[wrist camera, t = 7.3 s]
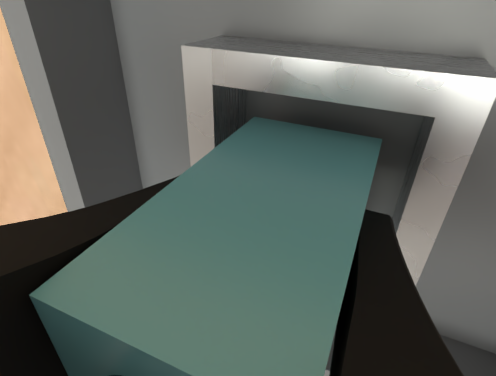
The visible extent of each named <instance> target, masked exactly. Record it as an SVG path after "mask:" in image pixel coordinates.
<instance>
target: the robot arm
mask: <svg viewBox="0 0 496 376" xmlns="http://www.w3.org/2000/svg"><path fill="white" fill-rule="evenodd" d="M177 177H179V176H177ZM177 177H175V178H172V179H169V180H166V181H164V182H161V183H158V184H155V185H152V186H150V187H147V188H144V189H141V190H139V191H136V192H133V193H130V194H127V195H124V196H120V197H117V198H114V199H111V200H108V201H105V202H102V203H99V204H95V205H92V206H89V207H85V208H81V209H78V210H74V211H70V212H65V213H61V214H57V215H53V216H49V217H44V218H39V219H34V220H28V221H23V222H17V223H12V224H7V225H1V226H0V376H68V374H67V372H66V370H65V368H64V366H63V364H62V362H61V360H60V358H59V356H58V354H57V351H56V349H55V347H54V345H53V343H52V341H51V339H50V337H49V335H48V333H47V331H46V329H45V327H44V325H43V323H42V321H41V319H40V317H39V315H38V313H37V311H36V309H35V307H34V304H33V302H32V300H31V298H30V296H29V295H30V294H31V293H32V292H33V291H35V290H36V289H37V288H38V287H40V286H41V285H42V284H44V283H45V282H46V281H47V280H49V279H50V278H51V277H52V276H54V275H55V274H56V273H57V272H59V271H60V270H61V269H62V268H64V267H65V266H66V265H68V264H69V263H70V262H71V261H73V260H74V259H75V258H76V257H78V256H79V255H80V254H81V253H83V252H84V251H85V250H86V249H88V248H89V247H90V246H92V245H93V244H94V243H95V242H97V241H98V240H99V239H100V238H102V237H103V236H104V235H105V234H107V233H108V232H109V231H110V230H112V229H113V228H114V227H116V226H117V225H118V224H119V223H121V222H122V221H123V220H124V219H126V218H127V217H128V216H129V215H131V214H132V213H133V212H134V211H136V210H137V209H138V208H140V207H141V206H142V205H143V204H145V203H146V202H147V201H148V200H150V199H151V198H152V197H153V196H155V195H156V194H157V193H158V192H160V191H161V190H162V189H164V188H165V187H166V186H167V185H169V184H170V183H171V182H172V181H174V180H175V179H176V178H177ZM329 376H464V375H463V373H462V372H461V370H460V368H459V367H458V365H457V363H456V362H455V360H454V358H453V357H452V355H451V353H450V352H449V350H448V348H447V346H446V345H445V343H444V341H443V339H442V338H441V336H440V334H439V332H438V330H437V329H436V327H435V325H434V323H433V321H432V319H431V317H430V315H429V313H428V311H427V309H426V307H425V305H424V303H423V301H422V299H421V297H420V295H419V293H418V290H417V288H416V286H415V284H414V281H413V279H412V276H411V274H410V272H409V269H408V267H407V264H406V262H405V259H404V257H403V254H402V251H401V248H400V245H399V242H398V239H397V236H396V232H395V228H394V224H393V220H392V218H391V217H390V215H387V214H383V213H379V212H374V211H370V210H366V209H365V212H364V216H363V220H362V224H361V228H360V232H359V236H358V240H357V244H356V249H355V253H354V257H353V261H352V265H351V269H350V273H349V277H348V281H347V285H346V289H345V293H344V297H343V301H342V305H341V309H340V313H339V317H338V321H337V325H336V332H335V339H334V346H333V353H332V360H331V367H330V374H329Z"/></svg>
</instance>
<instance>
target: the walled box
mask: <svg viewBox="0 0 496 376" xmlns="http://www.w3.org/2000/svg"><path fill="white" fill-rule="evenodd" d="M0 7H1V10H2V13H3V16H4V19H5V23H6V26H7V29H8V32H9V35H10V38H11V41H12V44H13V47H14V50H15V53H16V56H17V59H18V62H19V65H20V68H21V71H22V74H23V77H24V80H25V83H26V86H27V89H28V92H29V95H30V98H31V101H32V104H33V107H34V110H35V113H36V116H37V119H38V123H39V126H40V129H41V132H42V135H43V138H44V141H45V144H46V147H47V150H48V153H49V156H50V159H51V162H52V165H53V168H54V171H55V174H56V177H57V180H58V183H59V186H60V189H61V192H62V195H63V198H64V201H65V204H66V207H67V210H68V212H70V211H74V210H78V209H81V208H85V207H89V206H92V205H95V204H99V203H102V202H105V201H108V200H111V199H114V198H117V197H120V196H124V195H127V194H130V193H133V192H136V191H139V190H141V189H144V188H147V187H150V186H152V185H155V184H158V183H161V182H164V181H166V180H169V179H172V178H175V177H177V176H180V175H181V174H182V173H184V172H185V171H186V170H188V169H189V168H190V167H191V166H193V165H194V164H195V163H196V162H198V161H199V160H200V159H201V158H203V157H204V156H205V155H206V154H208V153H209V152H210V151H212V150H213V149H214V148H215V147H217V146H218V145H219V144H220V143H222V142H223V141H224V140H225V139H227V138H228V137H229V136H230V135H232V134H233V133H234V132H235V131H237V130H238V129H239V128H241V127H242V126H243V125H244V124H246V123H247V122H248V121H249V120H251V119H252V118H253V117H260V118H265V119H271V120H277V121H282V122H288V123H294V124H300V125H305V126H311V127H317V128H322V129H328V130H334V131H340V132H345V133H351V134H357V135H362V136H368V137H374V138H379V139H382V143H381V148H380V152H379V156H378V160H377V164H376V168H375V172H374V176H373V180H372V184H371V188H370V192H369V196H368V200H367V204H366V208H365V209H366V210H370V211H374V212H379V213H383V214H387V215H390V217H391V218H392V220H393V224H394V228H395V232H396V236H397V239H398V242H399V245H400V248H401V251H402V254H403V257H404V259H405V262H406V264H407V267H408V269H409V272H410V274H411V276H412V279H413V281H414V284H415V286H416V288H417V290H418V293H419V295H420V297H421V299H422V301H423V303H424V305H425V307H426V309H427V311H428V313H429V315H430V317H431V319H432V321H433V323H434V325H435V327H436V329H437V330H438V332H439V334H440V336H441V338H442V339H443V341H444V343H445V345H446V346H447V348H448V350H449V352H450V353H451V355H452V357H453V358H454V360H455V362H456V363H457V365H458V367H459V368H460V370H461V372H462V373H463V375H464V376H496V0H0ZM335 332H336V329H335ZM334 339H335V333H334V337H333V341H332V345H331V350H330V354H329V358H328V362H327V366H326V370H325V374H324V376H329V374H330V367H331V360H332V353H333V346H334Z"/></svg>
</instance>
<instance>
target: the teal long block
mask: <svg viewBox="0 0 496 376" xmlns="http://www.w3.org/2000/svg"><path fill="white" fill-rule="evenodd" d="M381 143H382V139H379V138H374V137H368V136H362V135H357V134H351V133H345V132H340V131H334V130H328V129H322V128H317V127H311V126H305V125H300V124H294V123H288V122H282V121H277V120H271V119H265V118H260V117H253V118H252V119H251V120H249V121H248V122H247V123H246V124H244V125H243V126H242V127H241V128H239V129H238V130H237V131H235V132H234V133H233V134H232V135H230V136H229V137H228V138H227V139H225V140H224V141H223V142H222V143H220V144H219V145H218V146H217V147H215V148H214V149H213V150H212V151H210V152H209V153H208V154H206V155H205V156H204V157H203V158H201V159H200V160H199V161H198V162H196V163H195V164H194V165H193V166H191V167H190V168H189V169H188V170H186V171H185V172H184V173H182V174H181V175H180V176H179V177H177V178H176V179H175V180H174V181H172V182H171V183H170V184H169V185H167V186H166V187H165V188H164V189H162V190H161V191H160V192H158V193H157V194H156V195H155V196H153V197H152V198H151V199H150V200H148V201H147V202H146V203H145V204H143V205H142V206H141V207H140V208H138V209H137V210H136V211H134V212H133V213H132V214H131V215H129V216H128V217H127V218H126V219H124V220H123V221H122V222H121V223H119V224H118V225H117V226H116V227H114V228H113V229H112V230H110V231H109V232H108V233H107V234H105V235H104V236H103V237H102V238H100V239H99V240H98V241H97V242H95V243H94V244H93V245H92V246H90V247H89V248H88V249H86V250H85V251H84V252H83V253H81V254H80V255H79V256H78V257H76V258H75V259H74V260H73V261H71V262H70V263H69V264H68V265H66V266H65V267H64V268H62V269H61V270H60V271H59V272H57V273H56V274H55V275H54V276H52V277H51V278H50V279H49V280H47V281H46V282H45V283H44V284H42V285H41V286H40V287H38V288H37V289H36V290H35V291H33V292H32V293H31V294H30V295H29V296H30V298H31V300H32V302H33V304H34V307H35V309H36V311H37V313H38V315H39V317H40V319H41V321H42V323H43V325H44V327H45V329H46V331H47V333H48V335H49V337H50V339H51V341H52V343H53V345H54V347H55V349H56V351H57V354H58V356H59V358H60V360H61V362H62V364H63V366H64V368H65V370H66V372H67V374H68V376H324V374H325V370H326V366H327V362H328V358H329V354H330V350H331V345H332V341H333V337H334V333H335V329H336V325H337V321H338V317H339V313H340V309H341V305H342V301H343V297H344V293H345V289H346V285H347V281H348V277H349V273H350V269H351V265H352V261H353V257H354V253H355V249H356V244H357V240H358V236H359V232H360V228H361V224H362V220H363V216H364V212H365V208H366V204H367V200H368V196H369V192H370V188H371V184H372V180H373V176H374V172H375V168H376V164H377V160H378V156H379V152H380V148H381Z"/></svg>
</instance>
